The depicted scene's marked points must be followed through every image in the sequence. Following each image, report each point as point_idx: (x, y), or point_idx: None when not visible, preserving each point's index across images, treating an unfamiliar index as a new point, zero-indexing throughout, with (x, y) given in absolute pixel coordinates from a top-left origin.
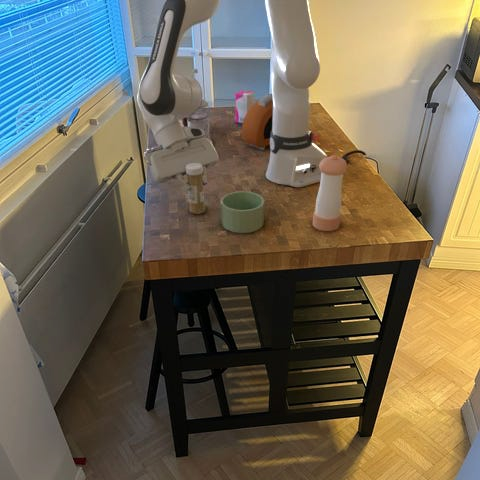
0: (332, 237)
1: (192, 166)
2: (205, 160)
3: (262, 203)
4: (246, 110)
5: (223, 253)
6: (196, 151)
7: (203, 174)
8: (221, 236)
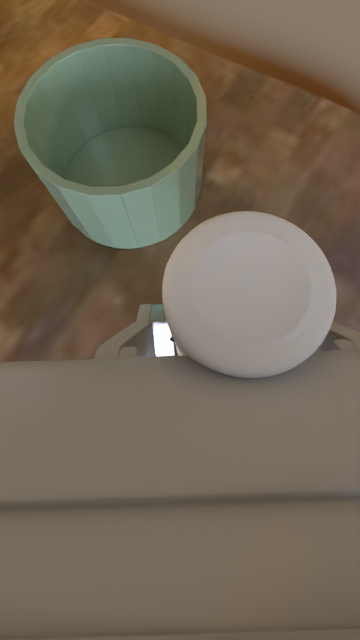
0: (2, 4)
1: (275, 277)
2: (45, 378)
3: (64, 52)
4: None
5: (283, 91)
6: (40, 530)
7: (140, 335)
8: (237, 159)
